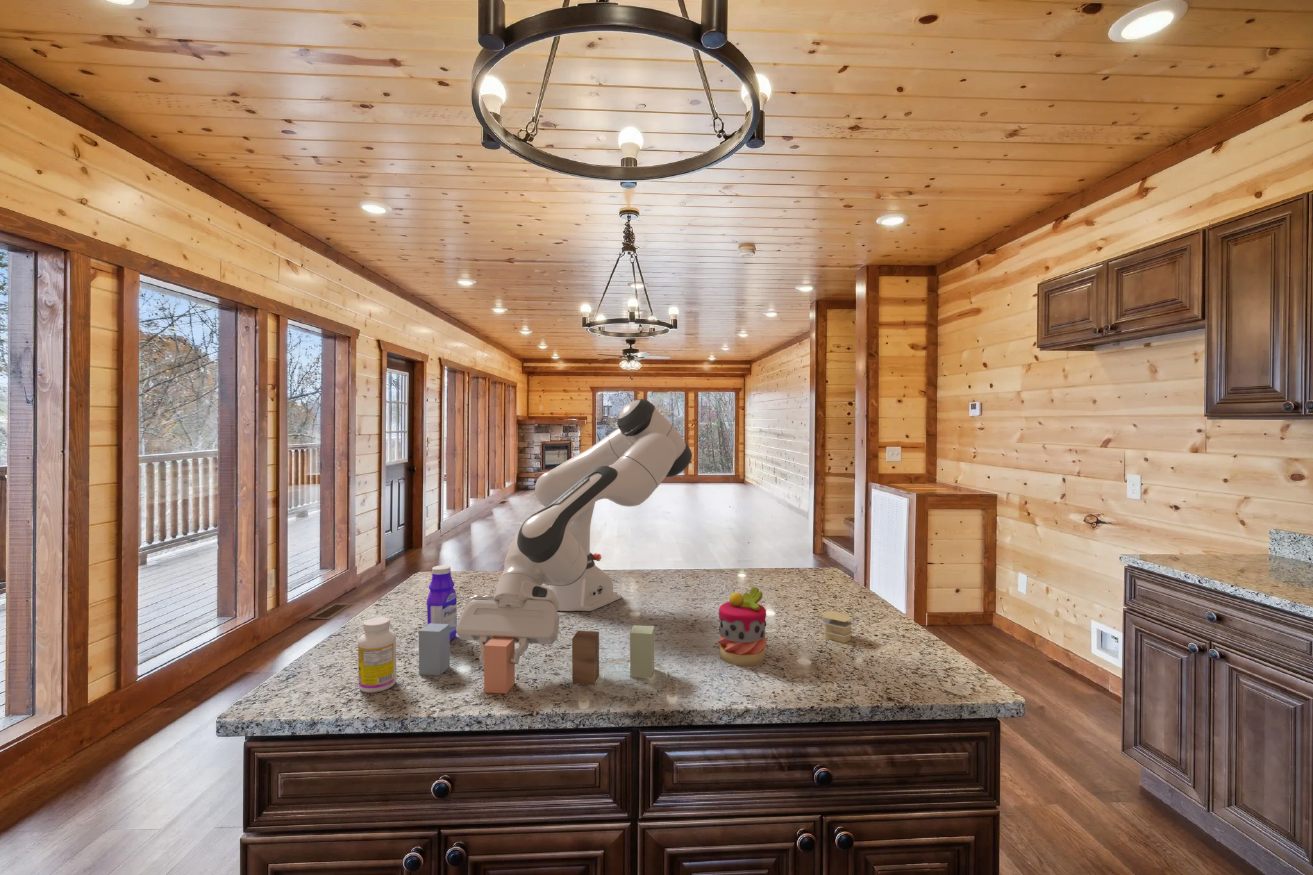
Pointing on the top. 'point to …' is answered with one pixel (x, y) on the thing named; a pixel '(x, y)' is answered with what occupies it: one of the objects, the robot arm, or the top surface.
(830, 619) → the pale yellow layered block
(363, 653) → the supplement bottle
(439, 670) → the slate block
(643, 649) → the sage block
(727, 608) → the cake
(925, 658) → the top surface
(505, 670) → the terracotta block
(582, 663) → the walnut block
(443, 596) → the bottle
